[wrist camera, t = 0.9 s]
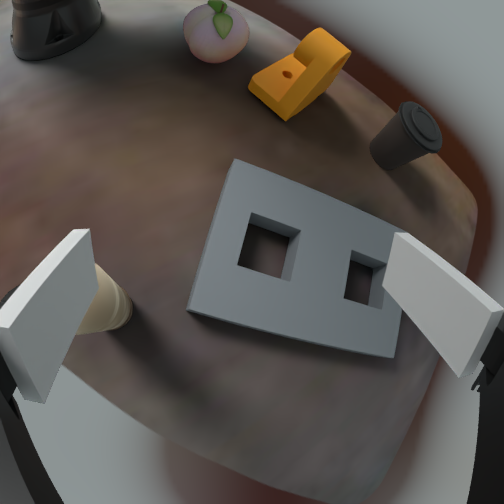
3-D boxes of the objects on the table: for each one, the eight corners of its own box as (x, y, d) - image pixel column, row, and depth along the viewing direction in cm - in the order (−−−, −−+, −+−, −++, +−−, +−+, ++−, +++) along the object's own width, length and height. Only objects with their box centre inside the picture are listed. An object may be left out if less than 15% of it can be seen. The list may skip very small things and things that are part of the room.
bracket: (288, 63, 42) (322, 8, 31) (323, 92, 43) (365, 42, 32) (243, 90, 39) (274, 26, 27) (283, 124, 39) (325, 66, 28)
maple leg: (100, 280, 29) (55, 246, 15) (138, 294, 30) (124, 270, 16) (88, 321, 27) (33, 320, 14) (127, 335, 28) (102, 347, 14)
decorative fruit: (247, 76, 39) (271, 25, 30) (190, 83, 36) (205, 26, 27) (224, 35, 40) (242, -13, 31) (173, 41, 37) (183, -12, 28)
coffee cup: (377, 123, 45) (415, 90, 36) (409, 162, 45) (452, 135, 36) (353, 145, 42) (395, 108, 33) (389, 188, 42) (437, 160, 33)
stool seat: (185, 310, 31) (188, 309, 28) (228, 170, 35) (234, 158, 32) (378, 356, 36) (393, 358, 33) (394, 238, 41) (409, 233, 38)
